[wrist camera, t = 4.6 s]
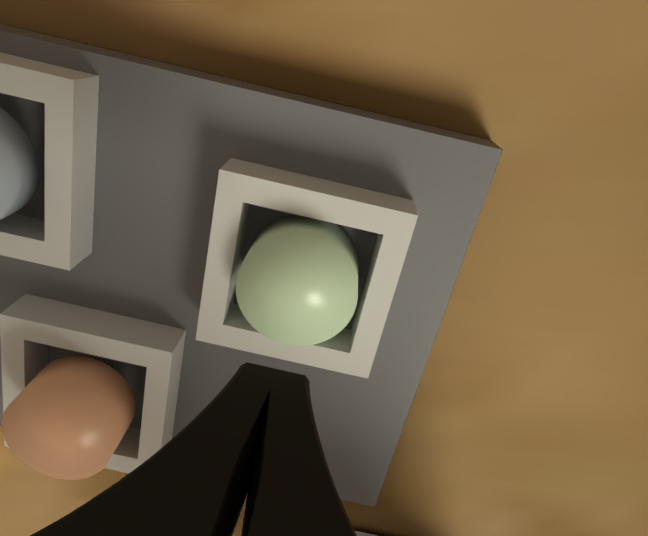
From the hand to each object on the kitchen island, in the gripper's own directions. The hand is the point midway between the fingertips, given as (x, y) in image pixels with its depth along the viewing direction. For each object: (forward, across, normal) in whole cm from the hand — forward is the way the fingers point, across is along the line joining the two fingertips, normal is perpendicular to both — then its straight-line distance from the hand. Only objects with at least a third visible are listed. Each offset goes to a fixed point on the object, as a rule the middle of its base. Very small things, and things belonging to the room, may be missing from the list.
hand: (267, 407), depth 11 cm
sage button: (+7, 0, 0) cm, 7 cm away
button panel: (+9, +4, +2) cm, 10 cm away
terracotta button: (+6, +6, +6) cm, 11 cm away
